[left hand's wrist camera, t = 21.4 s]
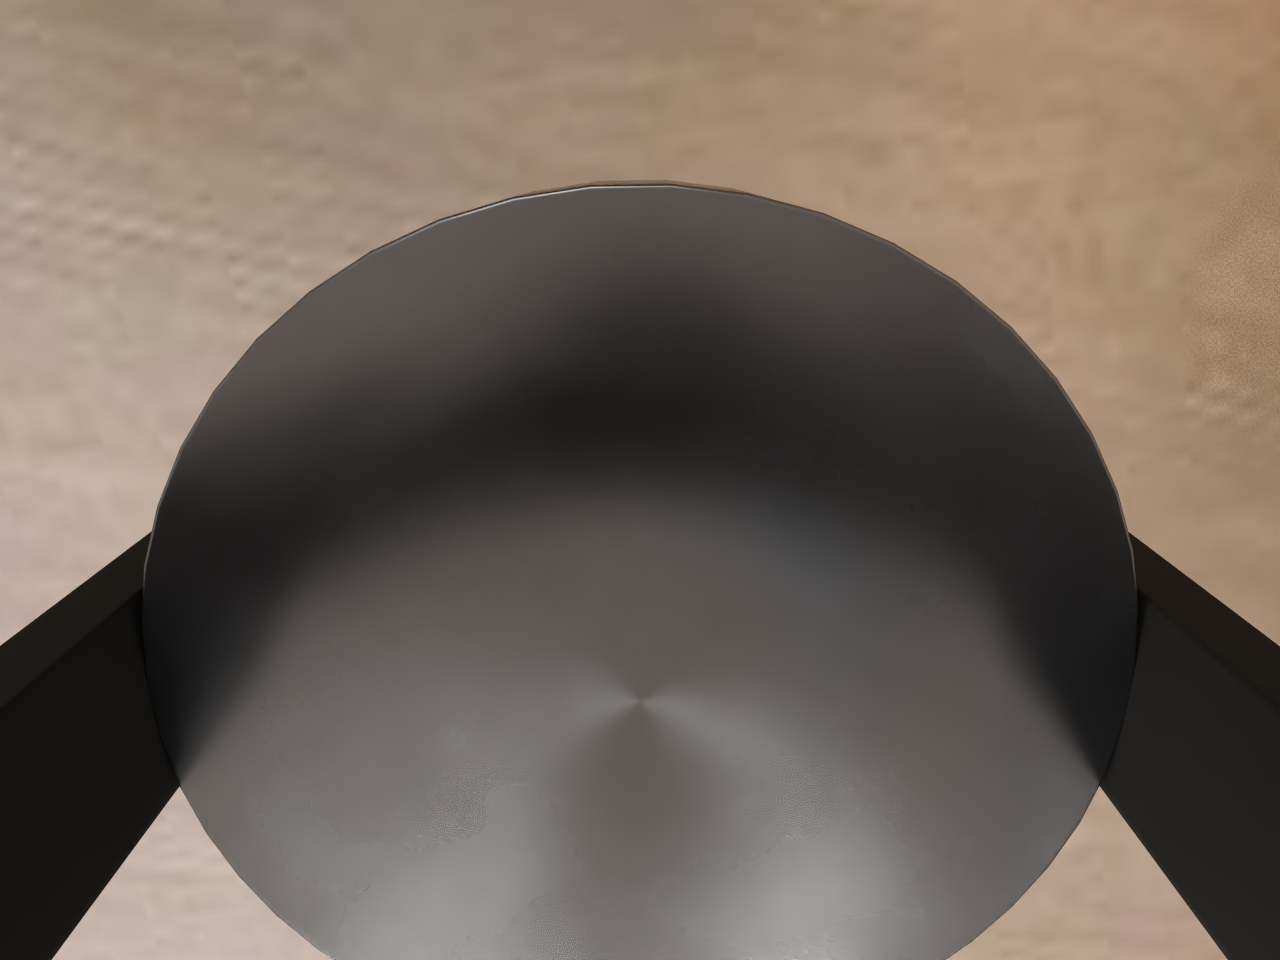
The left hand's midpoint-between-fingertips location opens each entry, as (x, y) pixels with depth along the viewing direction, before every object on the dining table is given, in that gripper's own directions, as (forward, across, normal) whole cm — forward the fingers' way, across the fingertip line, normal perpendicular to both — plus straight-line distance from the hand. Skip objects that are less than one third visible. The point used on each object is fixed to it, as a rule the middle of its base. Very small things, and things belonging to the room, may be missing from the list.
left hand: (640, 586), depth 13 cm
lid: (-3, 0, 0) cm, 3 cm away
